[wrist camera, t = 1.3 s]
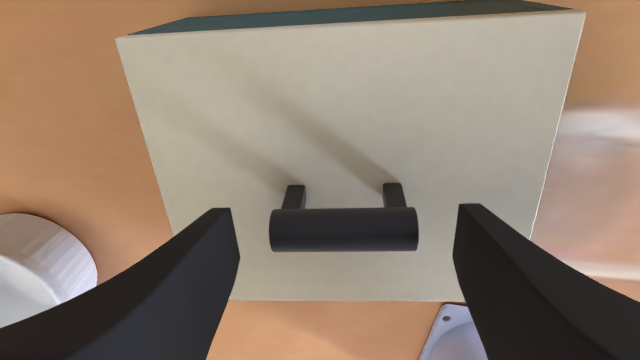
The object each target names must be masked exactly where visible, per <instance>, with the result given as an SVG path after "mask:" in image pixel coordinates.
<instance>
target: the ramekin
mask: <svg viewBox="0 0 640 360" xmlns="http://www.w3.org/2000/svg"><path fill="white" fill-rule="evenodd" d="M96 284H97V271H96V266H95V263H94V261H93V258H92V256H91V255H90V253H89V252H88V250H87V249H86V247H85V246H84V245H83V244H82V243H81V242H80V241H79V240H78V239H77V238H76V237H75V236H74V235H72V234H71V233H70V232H69V231H67V230H66V229H64V228H62V227H61V226H59V225H57V224H55V223H53V222H51V221H49V220H46V219H44V218H41V217H37V216H33V215H29V214H23V213H10V214H3V215H0V328H2V327H5V326H7V325H10V324H13V323H16V322H18V321H21V320H23V319H26V318H29V317H31V316H33V315H36V314H38V313H41V312H43V311H45V310H48V309H50V308H52V307H55V306H57V305H59V304H61V303H64V302H66V301H68V300H70V299H72V298H74V297H76V296H78V295H80V294H82V293H84V292H86V291H88V290H90V289H92V288H94V287H96Z"/></svg>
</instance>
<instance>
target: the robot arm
mask: <svg viewBox="0 0 640 360" xmlns="http://www.w3.org/2000/svg"><path fill="white" fill-rule="evenodd" d="M452 258H453V262H454V267H455V271H456V275H457V279H458V283H459V286H460V289H461V291H462V294H463V296H464V299H465V301H466V304H467V307H466V306H460V305H453V304H445V305H443V306H442V307H441V308H440V310H439V313H438V315H437V317H436V320H435V322H434V324H433V327H432V329H431V331H430V334H429V336H428V338H427V341H426V343H425V346H424V348H423V350H422V353H421V355H420V357H419V360H640V302H638V301H635V300H633V299H631V298H629V297H627V296H625V295H623V294H621V293H619V292H616V291H614V290H612V289H610V288H608V287H606V286H604V285H602V284H600V283H598V282H597V281H595V280H593V279H591V278H589V277H588V276H586V275H584V274H582V273H580V272H579V271H577V270H575V269H573V268H571V267H570V266H568V265H566V264H565V263H563V262H561V261H560V260H558V259H557V258H555V257H554V256H552V255H551V254H549V253H548V252H546V251H544V250H543V249H541V248H540V247H538V246H537V245H536V244H534V243H533V242H531V241H530V240H528V239H527V238H526V237H524V236H523V235H522V234H520V233H519V232H517V231H516V230H515V229H513V228H512V227H511V226H509V225H508V224H507V223H505V222H504V221H503V220H502V219H500V218H499V217H498V216H496V215H495V214H494V213H492V212H491V211H490V210H488V209H487V208H486V207H484V206H483V205H481V204H480V203H465V204H459V207H458V215H457V222H456V230H455V238H454V245H453V253H452ZM239 262H240V252H239V247H238V242H237V237H236V232H235V227H234V223H233V218H232V213H231V208H230V207H229V208H211V209H210V210H208V211H207V212H205V213H204V214H203V215H201V216H200V217H199V218H197V219H196V220H195V221H194V222H192V223H191V224H190V225H188V226H187V227H186V228H185V229H183V230H182V231H181V232H179V233H178V234H177V235H175V236H174V237H173V238H171V239H170V240H169V241H168V242H166V243H165V244H163V245H162V246H160V247H159V248H158V249H156V250H155V251H153V252H152V253H150V254H149V255H148V256H146V257H145V258H143V259H142V260H140V261H139V262H137V263H136V264H134V265H133V266H131V267H129V268H128V269H126V270H125V271H123V272H121V273H119V274H118V275H116V276H114V277H113V278H111V279H109V280H107V281H106V282H104V283H102V284H100V285H98V286H96V287H94V288H92V289H90V290H88V291H86V292H84V293H82V294H80V295H78V296H76V297H74V298H72V299H70V300H68V301H66V302H64V303H61V304H59V305H57V306H55V307H52V308H50V309H48V310H45V311H43V312H41V313H38V314H36V315H33V316H31V317H29V318H26V319H23V320H21V321H18V322H16V323H13V324H10V325H7V326H5V327H2V328H0V360H206V357H207V354H208V351H209V349H210V346H211V343H212V340H213V338H214V335H215V333H216V330H217V328H218V325H219V323H220V320H221V318H222V315H223V312H224V310H225V307H226V305H227V302H228V300H229V297H230V294H231V292H232V289H233V286H234V283H235V279H236V275H237V271H238V267H239ZM444 316H447V317H444Z"/></svg>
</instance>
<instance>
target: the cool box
mask: <svg viewBox="0 0 640 360" xmlns="http://www.w3.org/2000/svg"><path fill="white" fill-rule="evenodd" d="M569 9H571V8H565V7H559V6H553V5H547V4H541V3H535V2H529V1H523V0H467V1H451V2H435V3H419V4H402V5H386V6H370V7H354V8H337V9H321V10H305V11H289V12H273V13H256V14H240V15H224V16H208V17H192V18H184V19H181V20H177V21H174V22H170V23H167V24H163V25H160V26H156V27H153V28H149V29H146V30H142V31H139V32H135V33H132V34H128V35H141V34H158V33H175V32H193V31H210V30H227V29H244V28H261V27H278V26H295V25H312V24H330V23H347V22H364V21H381V20H398V19H415V18H432V17H449V16H467V15H484V14H501V13H518V12H535V11H552V10H569Z"/></svg>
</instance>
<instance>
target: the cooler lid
mask: <svg viewBox="0 0 640 360" xmlns="http://www.w3.org/2000/svg"><path fill="white" fill-rule="evenodd" d="M585 17H586V12H585V11H582V10H576V9H569V10H552V11H535V12H518V13H501V14H484V15H467V16H449V17H432V18H415V19H398V20H381V21H364V22H347V23H330V24H312V25H295V26H278V27H261V28H244V29H227V30H210V31H193V32H175V33H158V34H141V35H125V36H121V37H118V38H116V39H115V43H116V46H117V49H118V53H119V56H120V59H121V63H122V66H123V69H124V73H125V76H126V79H127V83H128V86H129V89H130V93H131V96H132V99H133V103H134V106H135V109H136V113H137V116H138V119H139V123H140V126H141V129H142V133H143V136H144V139H145V143H146V146H147V149H148V153H149V156H150V159H151V163H152V166H153V169H154V173H155V176H156V179H157V183H158V186H159V189H160V193H161V196H162V199H163V203H164V206H165V209H166V213H167V216H168V219H169V223H170V226H171V229H172V233H173V236H175V235H177V234H178V233H179V232H181V231H182V230H183V229H185V228H186V227H187V226H188V225H190V224H191V223H192V222H194V221H195V220H196V219H197V218H199V217H200V216H201V215H203V214H204V213H205V212H207V211H208V210H210V209H211V208H229V207H230V208H231V213H232V218H233V223H234V227H235V232H236V237H237V242H238V247H239V252H240V262H239V267H238V271H237V275H236V279H235V283H234V286H233V289H232V292H231V294H230V297H229V300H243V301H451V302H466V301H465V299H464V296H463V294H462V291H461V289H460V286H459V283H458V279H457V275H456V271H455V267H454V262H453V258H452V253H453V245H454V238H455V230H456V222H457V215H458V207H459V204H465V203H480V204H481V205H483V206H484V207H486V208H487V209H488V210H490V211H491V212H492V213H494V214H495V215H496V216H498V217H499V218H500V219H502V220H503V221H504V222H505V223H507V224H508V225H509V226H511V227H512V228H513V229H515V230H516V231H517V232H519V233H520V234H522V235H523V236H524V237H526V238H527V239H528V240H530V239H531V235H532V231H533V227H534V223H535V219H536V215H537V211H538V207H539V203H540V199H541V195H542V191H543V187H544V183H545V179H546V175H547V171H548V167H549V163H550V158H551V154H552V150H553V146H554V142H555V138H556V134H557V130H558V126H559V122H560V118H561V114H562V110H563V106H564V102H565V98H566V94H567V90H568V86H569V82H570V78H571V73H572V69H573V65H574V61H575V57H576V53H577V49H578V45H579V41H580V37H581V33H582V29H583V25H584V21H585Z"/></svg>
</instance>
